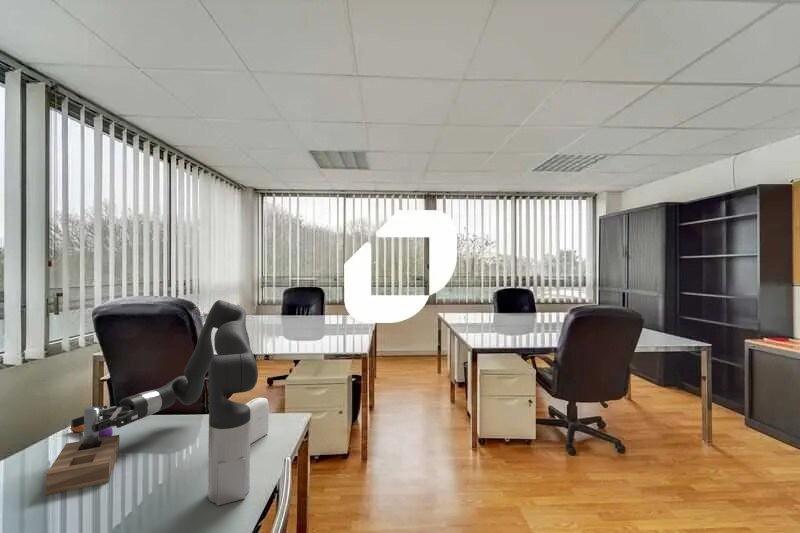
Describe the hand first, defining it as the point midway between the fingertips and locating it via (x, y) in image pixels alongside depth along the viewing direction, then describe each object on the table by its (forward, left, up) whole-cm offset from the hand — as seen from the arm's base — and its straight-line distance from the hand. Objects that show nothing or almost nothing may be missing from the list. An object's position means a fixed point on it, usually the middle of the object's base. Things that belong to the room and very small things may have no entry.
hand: (82, 426), depth 104 cm
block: (-3, -1, -11) cm, 12 cm away
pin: (+1, -2, -10) cm, 10 cm away
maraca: (+21, +2, -12) cm, 24 cm away
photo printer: (-3, -43, -11) cm, 45 cm away
